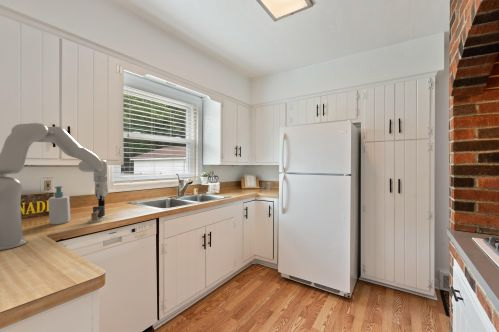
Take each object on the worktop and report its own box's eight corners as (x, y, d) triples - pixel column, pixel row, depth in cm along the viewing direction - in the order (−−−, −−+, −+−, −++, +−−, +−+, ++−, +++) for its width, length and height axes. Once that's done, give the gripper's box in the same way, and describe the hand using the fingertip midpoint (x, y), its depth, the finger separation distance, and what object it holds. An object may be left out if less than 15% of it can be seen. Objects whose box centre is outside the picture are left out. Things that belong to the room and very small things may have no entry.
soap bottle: (67, 219, 153) (66, 185, 152) (73, 221, 148) (71, 186, 146) (47, 223, 145) (45, 186, 143) (52, 225, 139) (50, 188, 138)
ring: (93, 216, 151) (92, 207, 151) (94, 215, 153) (94, 206, 153) (103, 215, 153) (103, 206, 152) (104, 215, 155) (104, 206, 154)
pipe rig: (87, 222, 145) (87, 212, 145) (94, 218, 155) (94, 208, 154) (100, 221, 147) (100, 212, 146) (106, 217, 156) (106, 208, 156)
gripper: (102, 179, 150) (103, 208, 151) (110, 177, 164) (111, 203, 165) (89, 180, 148) (90, 209, 149) (98, 177, 163) (99, 204, 164)
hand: (101, 206), depth 157 cm, fingers closed
